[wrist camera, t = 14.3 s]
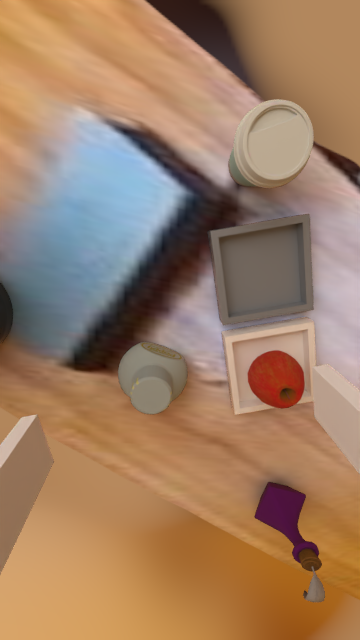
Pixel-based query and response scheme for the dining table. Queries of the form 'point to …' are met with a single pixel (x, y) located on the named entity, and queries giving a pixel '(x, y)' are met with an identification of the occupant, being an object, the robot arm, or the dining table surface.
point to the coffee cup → (271, 145)
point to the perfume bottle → (291, 530)
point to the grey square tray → (262, 269)
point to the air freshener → (152, 376)
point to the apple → (276, 379)
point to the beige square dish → (260, 339)
